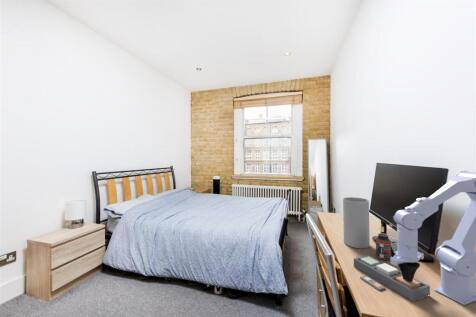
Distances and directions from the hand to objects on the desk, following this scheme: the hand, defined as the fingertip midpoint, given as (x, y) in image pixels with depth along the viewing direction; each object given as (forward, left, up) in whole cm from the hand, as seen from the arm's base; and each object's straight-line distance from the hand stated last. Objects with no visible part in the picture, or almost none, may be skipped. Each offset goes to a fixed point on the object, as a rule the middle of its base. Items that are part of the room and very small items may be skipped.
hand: (407, 280), depth 74 cm
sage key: (0, -15, -3) cm, 15 cm away
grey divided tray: (0, -7, -4) cm, 8 cm away
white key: (0, -7, -2) cm, 8 cm away
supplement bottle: (-15, -20, -4) cm, 25 cm away
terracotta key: (0, 0, -3) cm, 3 cm away
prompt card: (+8, -7, -4) cm, 12 cm away
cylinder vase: (-16, -36, -4) cm, 40 cm away
